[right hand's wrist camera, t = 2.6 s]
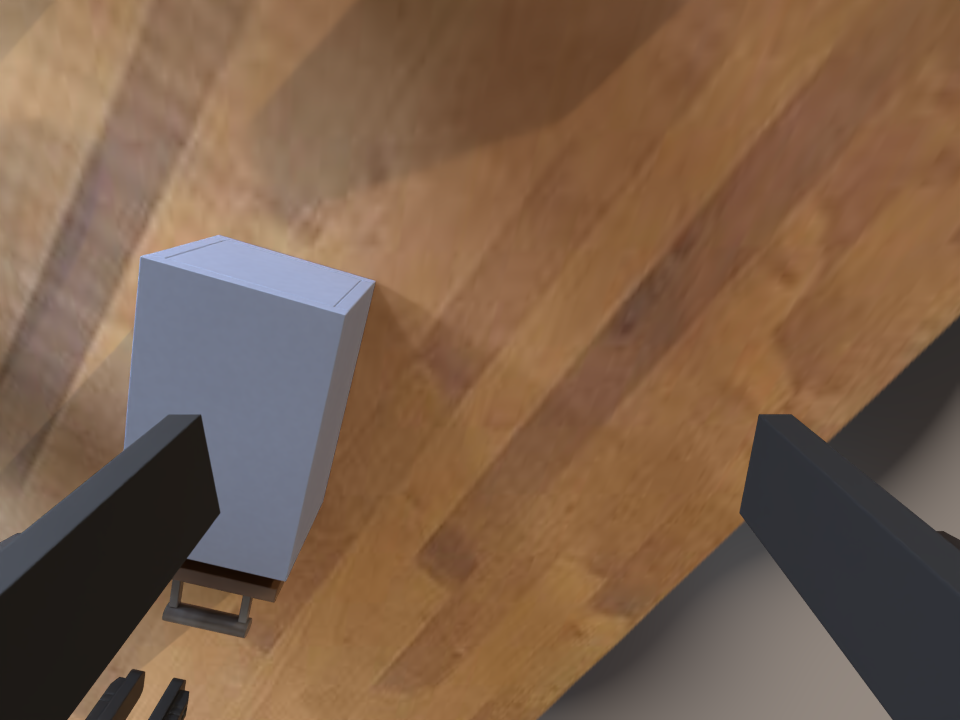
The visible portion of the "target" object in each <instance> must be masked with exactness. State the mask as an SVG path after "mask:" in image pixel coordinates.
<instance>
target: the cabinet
mask: <svg viewBox="0 0 960 720" xmlns="http://www.w3.org/2000/svg"><path fill="white" fill-rule="evenodd" d="M374 286H375V281H374V280H370V279H367V278H363V277H360V276H357V275H353V274H350V273H346V272H343V271H340V270H336V269H333V268H329V267H326V266H323V265H319V264H316V263H312V262H309V261H306V260H302V259H299V258H295V257H292V256H289V255H285V254H282V253H278V252H275V251H272V250H268V249H265V248H261V247H258V246H255V245H251V244H248V243H244V242H241V241H238V240H234V239H231V238H227V237H224V236H221V235H217V236H213V237H210V238H206V239H203V240H199V241H196V242H192V243H188V244H185V245H181V246H177V247H174V248H170V249H167V250H163V251H159V252H156V253H152V254H147V255H144V256H141V257H140V266H139V278H138V290H137V302H136V313H135V325H134V337H133V348H132V360H131V372H130V384H129V395H128V407H127V419H126V431H125V442H124V450H125V449H126V448H128V447H129V446H130V445H131V444H133V443H134V442H135V441H136V440H138V439H139V438H140V437H141V436H142V435H144V434H145V433H146V432H147V431H149V430H150V429H151V428H152V427H154V426H155V425H156V424H157V423H159V422H160V421H161V420H162V419H164V418H165V417H166V416H167V415H168V414H201V416H202V421H203V426H204V432H205V437H206V442H207V447H208V452H209V457H210V462H211V467H212V472H213V477H214V482H215V487H216V492H217V497H218V503H219V508H220V514H219V516H218V517H217V518H216V520H215V521H214V523H213V524H212V525H211V527H210V528H209V529H208V531H207V532H206V533H205V535H204V536H203V537H202V539H201V540H200V541H199V543H198V544H197V545H196V547H195V548H194V549H193V551H192V552H191V554H190V555H189V556H188V558H187V559H191V560H195V561H199V562H204V563H208V564H212V565H216V566H221V567H225V568H229V569H234V570H238V571H242V572H246V573H251V574H255V575H259V576H264V577H268V578H272V579H276V580H281V581H285V582H286V580H287V578H288V576H289V574H290V571H291V569H292V567H293V565H294V563H295V561H296V559H297V556H298V554H299V552H300V550H301V548H302V546H303V544H304V541H305V539H306V537H307V535H308V533H309V531H310V528H311V526H312V524H313V522H314V520H315V518H316V516H317V513H318V511H319V509H320V507H321V505H322V503H323V500H324V496H325V491H326V487H327V483H328V479H329V475H330V470H331V466H332V462H333V458H334V454H335V450H336V445H337V441H338V437H339V433H340V429H341V424H342V420H343V416H344V412H345V408H346V403H347V399H348V395H349V391H350V387H351V383H352V378H353V374H354V370H355V366H356V362H357V357H358V353H359V349H360V345H361V341H362V336H363V332H364V328H365V324H366V320H367V316H368V311H369V307H370V303H371V299H372V295H373V290H374Z"/></svg>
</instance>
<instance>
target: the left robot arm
mask: <svg viewBox="0 0 960 720" xmlns="http://www.w3.org/2000/svg"><path fill="white" fill-rule="evenodd" d="M144 679H145V672H144V671H140V670H135V669H132V670H131V671H130V673H129V674H128V676H127V677H126V678H122V677H119V678H118V679H116V680H115V681H114V682H112V683H111V684H110V686H109V687H108V688H107V690H106V691H105V693H104V694H103V695H102V697H101V698H100V700H99V701H98V703H97V704H96V705H95V707H94V708H93V710H92V711H91V712H90V714H89V715H88V717H87V718H86V719H85V720H126V718H127V717H128V715H129V714H130V712H131V710H132V709H133V707H134V706H135V704H136V703H137V701H138V699H139V698H140V696H141V693H142V691H143V687H144ZM185 684H186V680H183V679H178V678H173V679H172V681H171V682H170V684H169V686H168V687H167V689H166V691H165V692H164V694H163V696H162V697H161V699H160V701H159V703H158V704H157V706H156V708H155V709H154V711H153V713H152V714H151V716H150V718H149V719H148V720H184V718H185V716H186V711H187V705H188V698H189V691H184V690H185Z"/></svg>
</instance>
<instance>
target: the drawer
mask: <svg viewBox="0 0 960 720" xmlns="http://www.w3.org/2000/svg"><path fill="white" fill-rule="evenodd" d="M172 579H173V581H172V589H171V596H170V602H169V603H168V604H167V606H166V608H165V610H164V613H163V616H162V620H164V621H169V622H173V623H178V624H182V625H187V626H191V627H196V628H200V629H205V630H209V631H214V632H218V633H223V634H228V635H232V636H237V637H241V638H245V637H246V636H247V634H248V632H249V629H250V626H251V623H252V618H249V614H250V609H251V604H252V599H253V598H256V599H261V600H265V601H270V602H275V600H276V598H277V596H278V594H279V592H280V590H281V588H282V586H283V583H284V581H281V580H276V579H272V578H268V577H264V576H259V575H255V574H251V573H246V572H242V571H238V570H234V569H229V568H225V567H221V566H216V565H212V564H208V563H204V562H199V561H195V560H191V559H186V560H185V562H184V563H183V564H182V566H181V567H180V568H179V570H178V571H177V572H176V574H175V575H174V576H173V578H172ZM183 582H186V583H191V584H195V585H200V586H204V587H208V588H213V589H217V590H221V591H226V592H230V593H235V594H239V595H243V598H242V603H241V609H240V614H239V615H236V614H231V613H227V612H222V611H218V610H214V609H209V608H205V607H200V606H196V605H191V604H187V603H182V602H181V596H182V589H183Z"/></svg>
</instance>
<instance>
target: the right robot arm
mask: <svg viewBox="0 0 960 720" xmlns="http://www.w3.org/2000/svg"><path fill="white" fill-rule="evenodd" d="M219 514H220V508H219V503H218V497H217V492H216V487H215V482H214V477H213V472H212V467H211V462H210V457H209V452H208V447H207V442H206V437H205V432H204V426H203V421H202V416H201V414H168V415H167V416H166V417H165V418H164V419H162V420H161V421H160V422H159V423H157V424H156V425H155V426H154V427H152V428H151V429H150V430H149V431H147V432H146V433H145V434H144V435H142V436H141V437H140V438H139V439H138V440H136V441H135V442H134V443H133V444H131V445H130V446H129V447H128V448H126V449H125V450H124V451H123V452H121V453H120V454H119V455H118V456H116V457H115V458H114V459H113V460H112V461H110V462H109V463H108V464H107V465H105V466H104V467H103V468H102V469H100V470H99V471H98V472H97V473H95V474H94V475H93V476H92V477H90V478H89V479H88V480H87V481H85V482H84V483H83V484H82V485H81V486H79V487H78V488H77V489H76V490H74V491H73V492H72V493H71V494H69V495H68V496H67V497H66V498H64V499H63V500H62V501H61V502H59V503H58V504H57V505H56V506H55V507H53V508H52V509H51V510H50V511H48V512H47V513H46V514H45V515H43V516H42V517H41V518H40V519H38V520H37V521H36V522H35V523H33V524H32V525H31V526H30V527H29V528H27V529H26V530H25V531H24V532H22V533H17V534H15V535H13V536H11V537H9V538H7V539H5V540H4V541H2V542H0V720H67V719H68V718H69V717H70V715H71V714H72V713H73V711H74V710H75V709H76V707H77V706H78V705H79V703H80V702H81V701H82V699H83V698H84V697H85V695H86V694H87V692H88V691H89V690H90V688H91V687H92V686H93V684H94V683H95V682H96V680H97V679H98V678H99V676H100V675H101V674H102V672H103V671H104V670H105V668H106V667H107V665H108V664H109V663H110V661H111V660H112V659H113V657H114V656H115V655H116V653H117V652H118V651H119V649H120V648H121V647H122V645H123V644H124V643H125V641H126V640H127V639H128V637H129V636H130V634H131V633H132V632H133V630H134V629H135V628H136V626H137V625H138V624H139V622H140V621H141V620H142V618H143V617H144V616H145V614H146V613H147V612H148V610H149V609H150V607H151V606H152V605H153V603H154V602H155V601H156V599H157V598H158V597H159V595H160V594H161V593H162V591H163V590H164V589H165V587H166V586H167V585H168V583H169V582H170V581H171V579H172V578H173V576H174V575H175V574H176V572H177V571H178V570H179V568H180V567H181V566H182V564H183V563H184V562H185V560H186V559H187V558H188V556H189V555H190V554H191V552H192V551H193V549H194V548H195V547H196V545H197V544H198V543H199V541H200V540H201V539H202V537H203V536H204V535H205V533H206V532H207V531H208V529H209V528H210V527H211V525H212V524H213V523H214V521H215V520H216V518H217V517H218V516H219ZM740 514H741V516H742V517H743V518H744V520H745V521H746V523H747V524H748V525H749V526H750V528H751V529H752V531H753V532H754V533H755V534H756V536H757V537H758V539H759V540H760V541H761V543H762V544H763V545H764V547H765V548H766V549H767V551H768V552H769V554H770V555H771V556H772V558H773V559H774V560H775V562H776V563H777V564H778V566H779V567H780V568H781V570H782V571H783V572H784V574H785V575H786V576H787V578H788V579H789V581H790V582H791V583H792V585H793V586H794V587H795V589H796V590H797V591H798V593H799V594H800V595H801V597H802V598H803V599H804V601H805V602H806V603H807V605H808V606H809V607H810V609H811V610H812V612H813V613H814V614H815V615H816V617H817V618H818V620H819V621H820V622H821V624H822V625H823V626H824V628H825V629H826V630H827V632H828V633H829V634H830V636H831V637H832V638H833V640H834V641H835V643H836V644H837V645H838V647H839V648H840V649H841V651H842V652H843V653H844V655H845V656H846V657H847V659H848V660H849V661H850V663H851V664H852V665H853V667H854V668H855V670H856V671H857V672H858V673H859V675H860V676H861V678H862V679H863V680H864V682H865V683H866V684H867V686H868V687H869V688H870V690H871V691H872V692H873V694H874V695H875V697H876V698H877V699H878V701H879V702H880V703H881V705H882V706H883V707H884V709H885V710H886V711H887V713H888V714H889V715H890V717H891V718H892V719H893V720H960V540H959V539H957V538H955V537H953V536H951V535H949V534H947V533H946V532H944V531H935V530H934V529H933V528H931V527H930V526H929V525H928V524H927V523H925V522H924V521H923V520H922V519H920V518H919V517H918V516H917V515H915V514H914V513H913V512H912V511H910V510H909V509H908V508H907V507H905V506H904V505H903V504H902V503H901V502H899V501H898V500H897V499H896V498H894V497H893V496H892V495H890V494H889V493H888V492H887V491H886V490H884V489H883V488H882V487H881V486H879V485H878V484H877V483H876V482H875V481H873V480H872V479H871V478H870V477H868V476H867V475H866V474H865V473H863V472H862V471H861V470H860V469H858V468H857V467H856V466H855V465H853V464H852V463H851V462H850V461H848V460H847V459H846V458H845V457H843V456H842V455H841V454H840V453H839V452H837V451H836V450H835V449H834V448H832V447H831V446H830V445H829V444H827V443H826V442H825V441H824V440H822V439H821V438H820V437H819V436H818V435H816V434H815V433H814V432H813V431H811V430H810V429H809V428H808V427H806V426H805V425H804V424H803V423H801V422H800V421H799V420H798V419H796V418H795V417H794V416H793V415H792V414H759V416H758V421H757V426H756V432H755V437H754V442H753V447H752V452H751V457H750V462H749V467H748V472H747V477H746V482H745V487H744V492H743V497H742V503H741V508H740Z"/></svg>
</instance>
